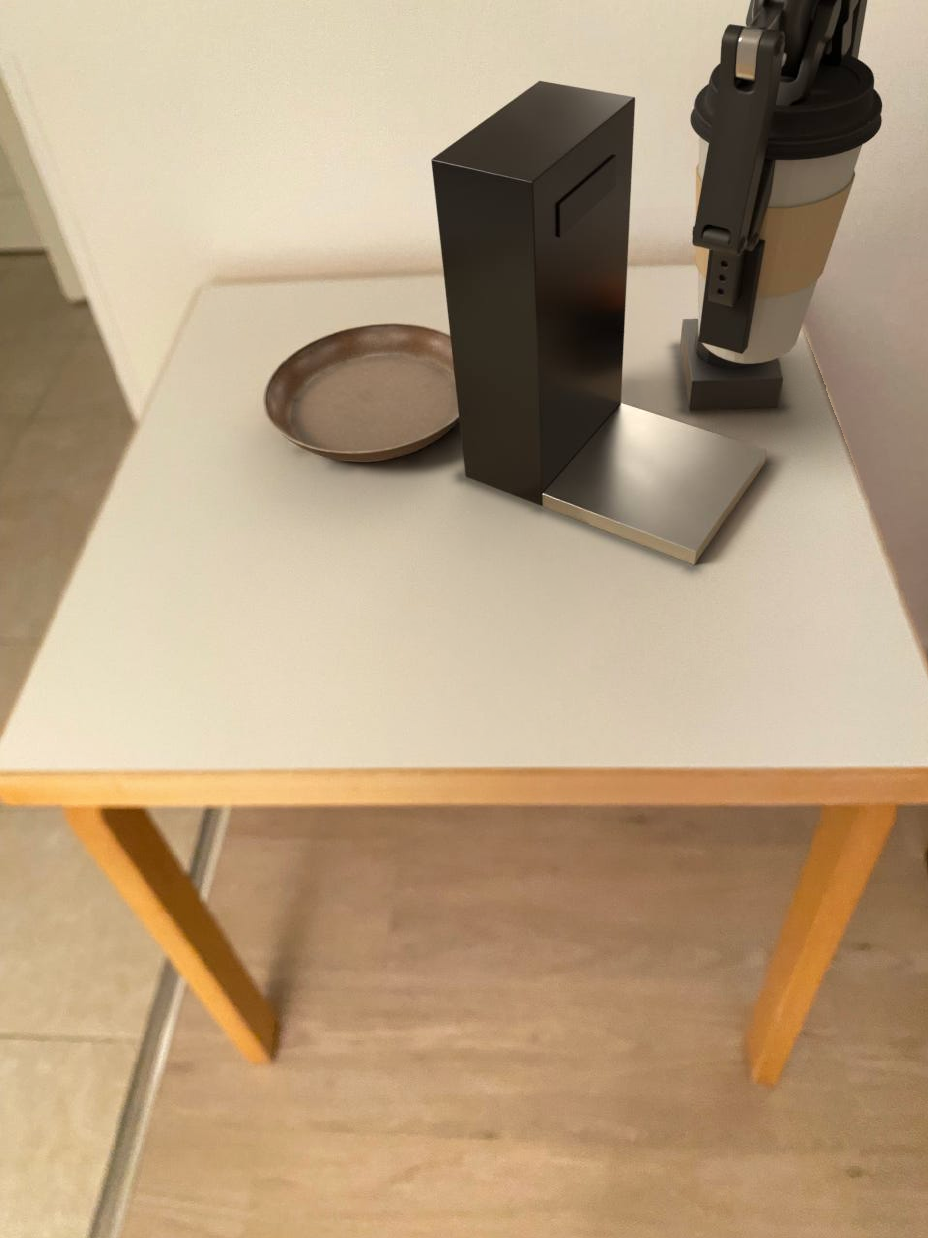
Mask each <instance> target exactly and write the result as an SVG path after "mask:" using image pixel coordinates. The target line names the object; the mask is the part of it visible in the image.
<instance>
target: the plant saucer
mask: <svg viewBox="0 0 928 1238" xmlns="http://www.w3.org/2000/svg"><path fill="white" fill-rule="evenodd" d="M262 405H263V411H264V413H265V416H266V418H267V419H268V421H269V423H270V424H271V425H272V427H273V428H274V429H275V430H276V431H277V432H278V433H279V434H281V436H283V437H284V438H285V439H287V440H288V441H290V442H291V443H293V444H294V445H296V446H297V447H299V448H301V449H303V450H305V451H308V452H310V453H312V454H314V455H317V456H321V457H324V458H328V459H332V460H337V461H344V462H351V463H352V462H353V463H356V462H357V463H359V462H360V463H369V462H378V461H379V462H381V461H385V460H386V461H387V460H391V459H396V458H399V457H404V456H406V455H409V454H411V453H414V452H417V451H419V450H421V449H423V448H425V447H428V445H431V444H432V443H434V442H436V441H437V440H439V439H440V438H441V437H443V436H444V435H446V434H447V433H449V432H450V430H451V429H453V428H454V427H455V426H456V424H458V423H460V421H459V412H458V402H457V393H456V384H455V375H454V365H453V356H452V347H451V338H450V333H447V332H446V331H443V330H440V329H438V328H434V327H431V326H426V325H422V324H414V323H407V322H380V323H377V322H376V323H369V324H362V325H356V326H352V327H346V328H342V329H340V330H339V329H338V330H337V331H336V330H335V331H333V332H331V333H328V334H325V335H321V336H320V337H318V338H315V339H313V340H311V341H309V342H307V343H305V344H304V345H303V346H301V347H299V348H298V349H296V350H294V351H293V352H292V353H291V354H288V356H287V357H285V358H284V360H282V361H280V363H279V365H277V367H276V368H275V369H274V371H273V372H272V373H271V374H270V376H269V377H268V380H267V382H266V384H265V386H264V390H263V395H262Z"/></svg>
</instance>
